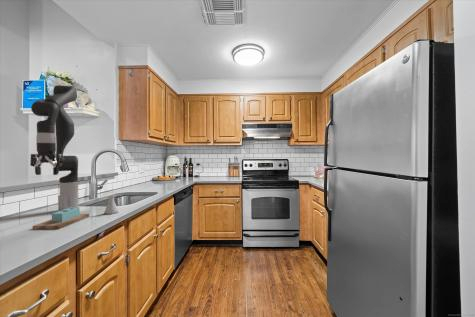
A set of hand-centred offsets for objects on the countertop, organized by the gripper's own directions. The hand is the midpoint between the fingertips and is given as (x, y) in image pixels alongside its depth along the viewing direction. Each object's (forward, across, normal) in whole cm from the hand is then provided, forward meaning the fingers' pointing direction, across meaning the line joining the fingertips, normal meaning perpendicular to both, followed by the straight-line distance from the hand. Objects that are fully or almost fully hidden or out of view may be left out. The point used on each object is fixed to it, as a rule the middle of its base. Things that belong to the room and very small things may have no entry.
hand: (46, 174), depth 121 cm
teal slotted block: (+22, -9, -1) cm, 24 cm away
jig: (+24, -8, +1) cm, 25 cm away
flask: (+24, -23, -18) cm, 38 cm away
